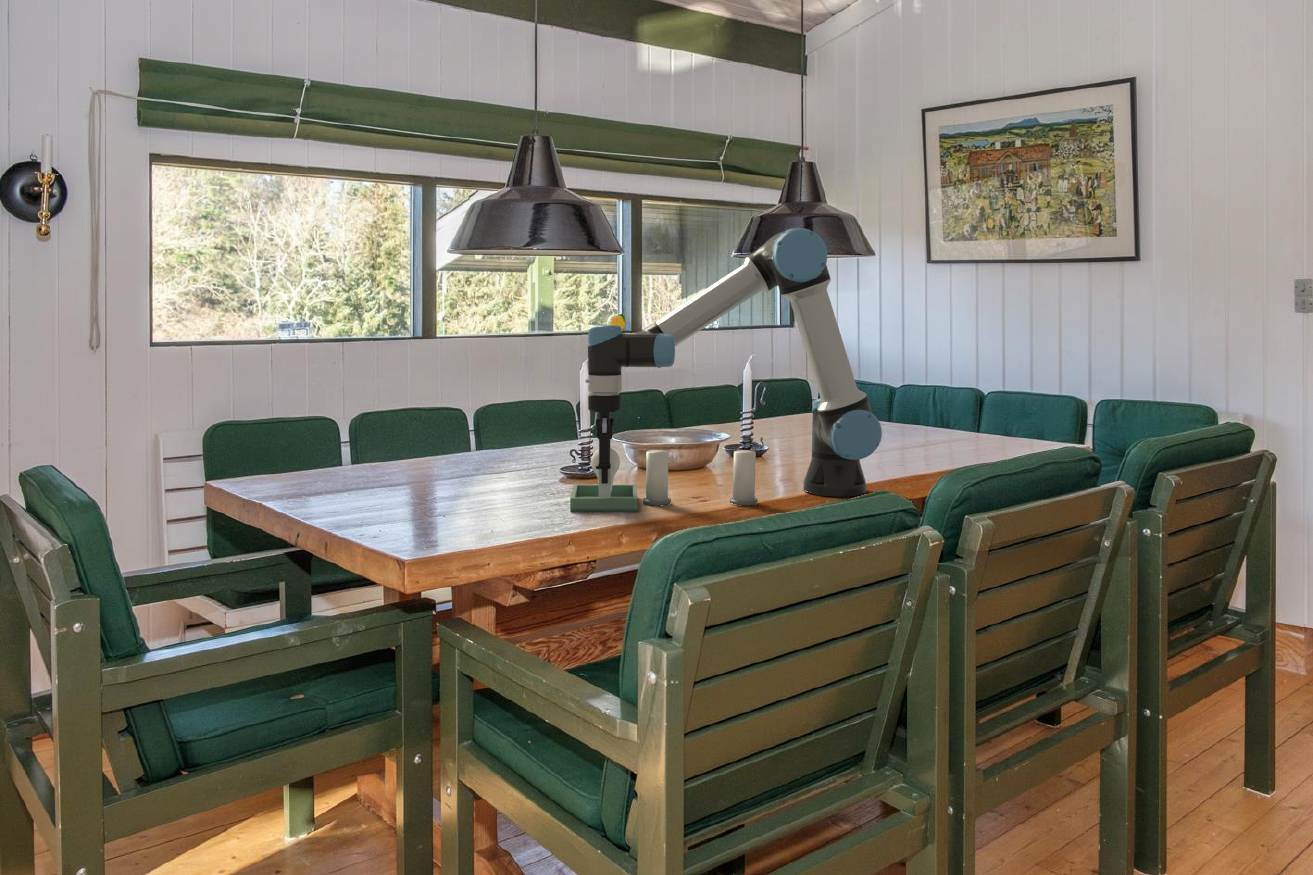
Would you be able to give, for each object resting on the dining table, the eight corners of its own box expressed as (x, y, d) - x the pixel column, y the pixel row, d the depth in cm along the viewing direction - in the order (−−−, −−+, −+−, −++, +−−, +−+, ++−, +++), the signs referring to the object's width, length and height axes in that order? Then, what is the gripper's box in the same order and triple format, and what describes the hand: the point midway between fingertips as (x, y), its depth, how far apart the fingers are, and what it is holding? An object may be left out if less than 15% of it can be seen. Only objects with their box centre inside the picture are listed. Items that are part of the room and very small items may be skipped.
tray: (636, 497, 255) (636, 484, 255) (637, 511, 238) (637, 498, 238) (573, 497, 255) (573, 484, 254) (570, 511, 238) (570, 498, 238)
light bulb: (604, 491, 251) (604, 444, 250) (626, 494, 247) (626, 447, 245) (585, 495, 246) (584, 447, 244) (607, 498, 242) (606, 450, 240)
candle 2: (755, 500, 252) (756, 450, 250) (759, 506, 245) (760, 454, 244) (728, 500, 252) (729, 449, 250) (731, 506, 245) (732, 454, 244)
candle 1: (670, 500, 251) (670, 449, 250) (671, 506, 245) (671, 453, 243) (642, 500, 251) (643, 449, 249) (643, 506, 245) (643, 453, 243)
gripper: (589, 389, 252) (589, 486, 256) (586, 397, 233) (587, 502, 237) (621, 389, 253) (621, 486, 256) (621, 397, 234) (621, 502, 237)
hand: (604, 494), depth 246 cm, fingers closed on light bulb, 6 cm apart
